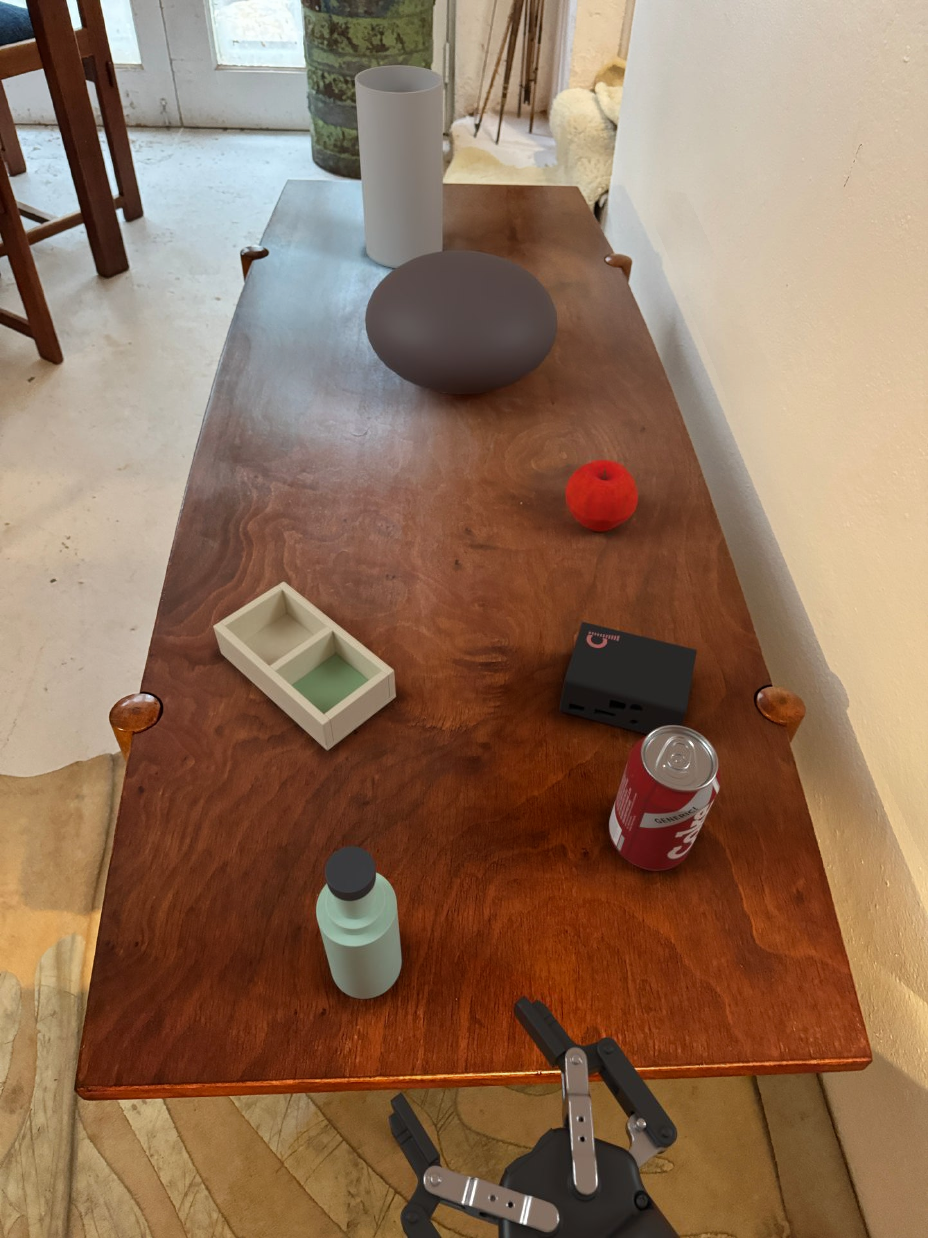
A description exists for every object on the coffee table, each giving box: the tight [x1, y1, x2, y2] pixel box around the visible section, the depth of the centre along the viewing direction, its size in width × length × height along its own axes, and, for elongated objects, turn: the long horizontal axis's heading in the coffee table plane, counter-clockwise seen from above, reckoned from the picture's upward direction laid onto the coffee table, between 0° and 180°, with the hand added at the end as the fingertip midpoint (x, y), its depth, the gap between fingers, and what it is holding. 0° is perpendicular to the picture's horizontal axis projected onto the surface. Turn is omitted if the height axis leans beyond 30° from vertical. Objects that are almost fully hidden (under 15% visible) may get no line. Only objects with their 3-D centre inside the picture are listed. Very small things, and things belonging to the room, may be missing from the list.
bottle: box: [315, 845, 403, 1000], centre depth 56 cm, size 5×5×15 cm
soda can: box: [608, 725, 722, 872], centre depth 65 cm, size 7×7×12 cm
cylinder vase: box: [354, 64, 444, 269], centre depth 129 cm, size 12×12×25 cm
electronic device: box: [558, 621, 698, 735], centre depth 77 cm, size 7×11×5 cm
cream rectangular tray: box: [212, 581, 397, 751], centre depth 78 cm, size 8×16×4 cm, turn 46°
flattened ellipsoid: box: [364, 249, 558, 395], centre depth 110 cm, size 25×25×15 cm
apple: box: [565, 459, 639, 533], centre depth 93 cm, size 8×8×7 cm
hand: (459, 1050), depth 48 cm, fingers open, 8 cm apart
